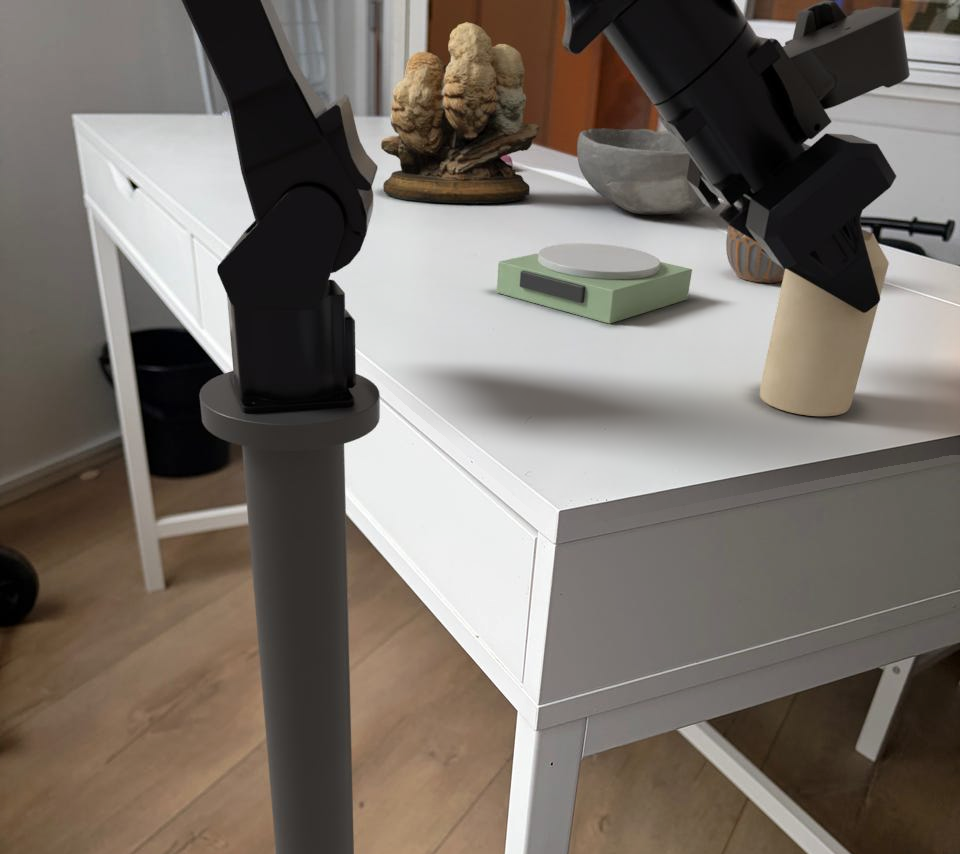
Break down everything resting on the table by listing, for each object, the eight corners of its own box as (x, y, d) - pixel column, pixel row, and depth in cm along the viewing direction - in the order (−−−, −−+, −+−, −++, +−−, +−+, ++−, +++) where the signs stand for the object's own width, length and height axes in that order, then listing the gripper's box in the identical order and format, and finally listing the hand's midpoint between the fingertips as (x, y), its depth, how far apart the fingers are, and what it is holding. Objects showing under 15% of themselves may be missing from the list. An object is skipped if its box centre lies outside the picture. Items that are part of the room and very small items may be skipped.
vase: (815, 283, 88) (840, 174, 83) (761, 290, 85) (784, 178, 80) (756, 265, 93) (777, 161, 88) (703, 272, 89) (721, 164, 84)
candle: (770, 415, 59) (810, 236, 54) (749, 384, 64) (783, 216, 58) (862, 419, 59) (911, 242, 54) (834, 388, 64) (876, 222, 58)
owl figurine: (519, 186, 122) (531, 23, 113) (549, 205, 113) (564, 28, 104) (374, 185, 118) (373, 15, 109) (392, 204, 109) (393, 19, 99)
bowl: (545, 212, 109) (552, 131, 105) (605, 192, 122) (613, 119, 118) (704, 236, 103) (718, 150, 98) (749, 212, 116) (763, 135, 112)
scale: (607, 324, 74) (612, 282, 72) (493, 293, 79) (496, 253, 78) (687, 299, 81) (693, 261, 79) (578, 272, 87) (582, 236, 85)
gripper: (910, -75, 41) (1070, 226, 47) (779, -59, 56) (912, 166, 63) (688, 130, 45) (864, 381, 51) (622, 92, 60) (764, 288, 67)
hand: (853, 292), depth 58 cm, fingers open, 6 cm apart
